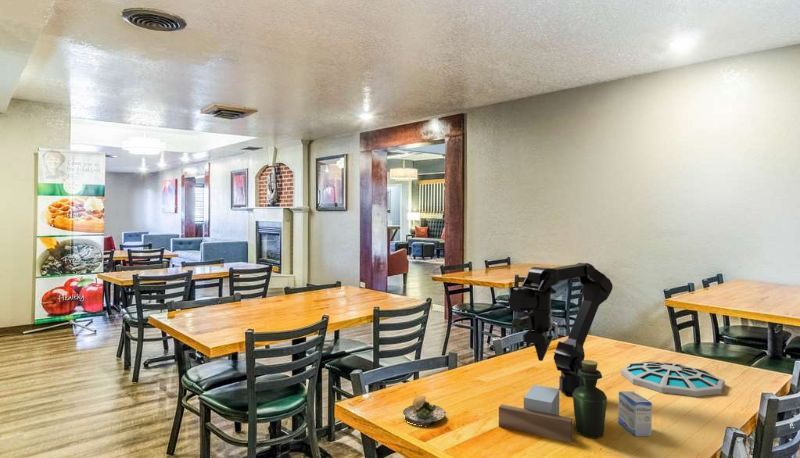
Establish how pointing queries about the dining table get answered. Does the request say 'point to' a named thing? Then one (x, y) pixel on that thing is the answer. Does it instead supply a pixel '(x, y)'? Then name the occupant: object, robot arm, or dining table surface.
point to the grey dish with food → (423, 412)
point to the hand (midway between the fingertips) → (540, 360)
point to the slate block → (542, 399)
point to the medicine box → (635, 413)
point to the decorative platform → (673, 378)
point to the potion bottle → (589, 402)
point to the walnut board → (536, 422)
